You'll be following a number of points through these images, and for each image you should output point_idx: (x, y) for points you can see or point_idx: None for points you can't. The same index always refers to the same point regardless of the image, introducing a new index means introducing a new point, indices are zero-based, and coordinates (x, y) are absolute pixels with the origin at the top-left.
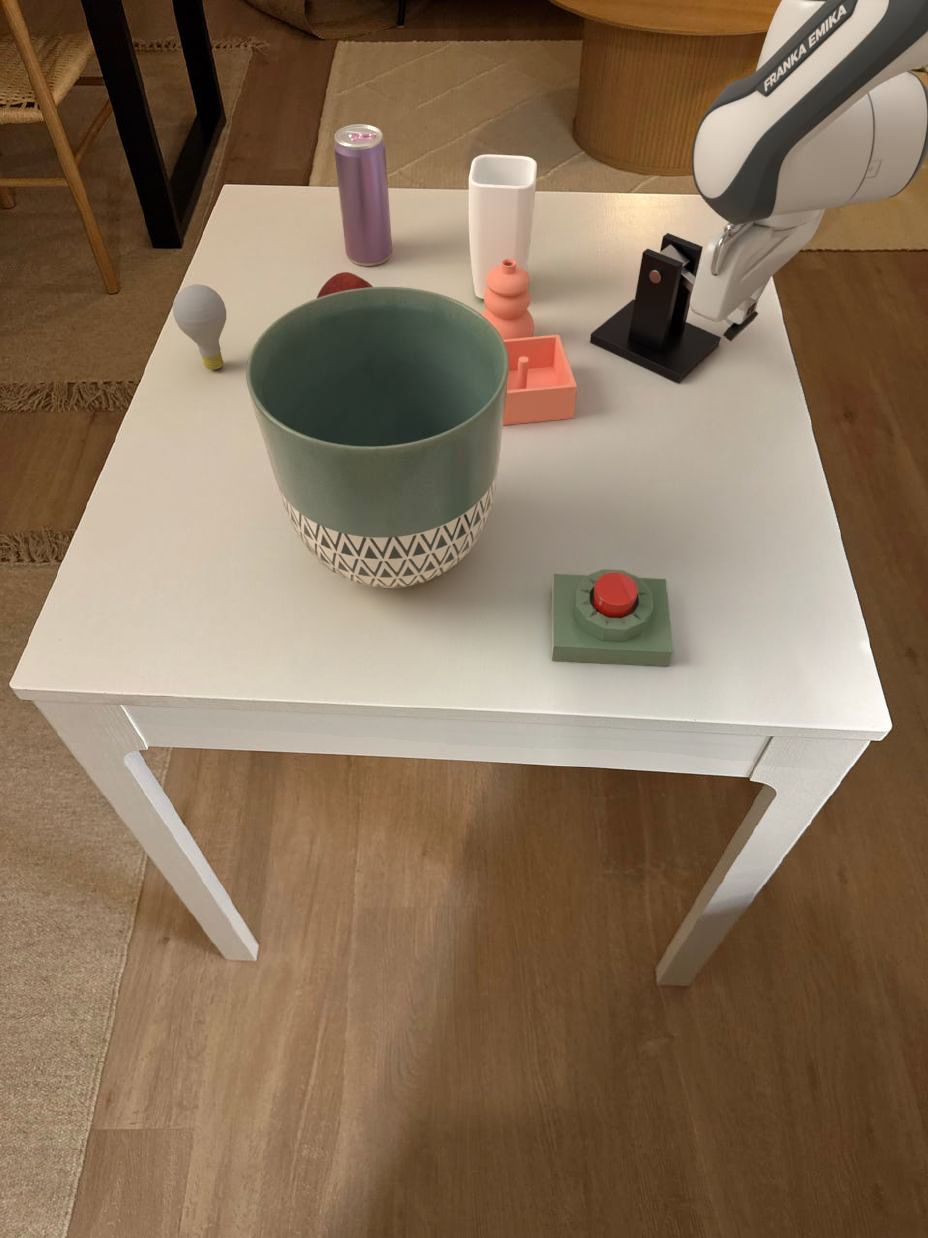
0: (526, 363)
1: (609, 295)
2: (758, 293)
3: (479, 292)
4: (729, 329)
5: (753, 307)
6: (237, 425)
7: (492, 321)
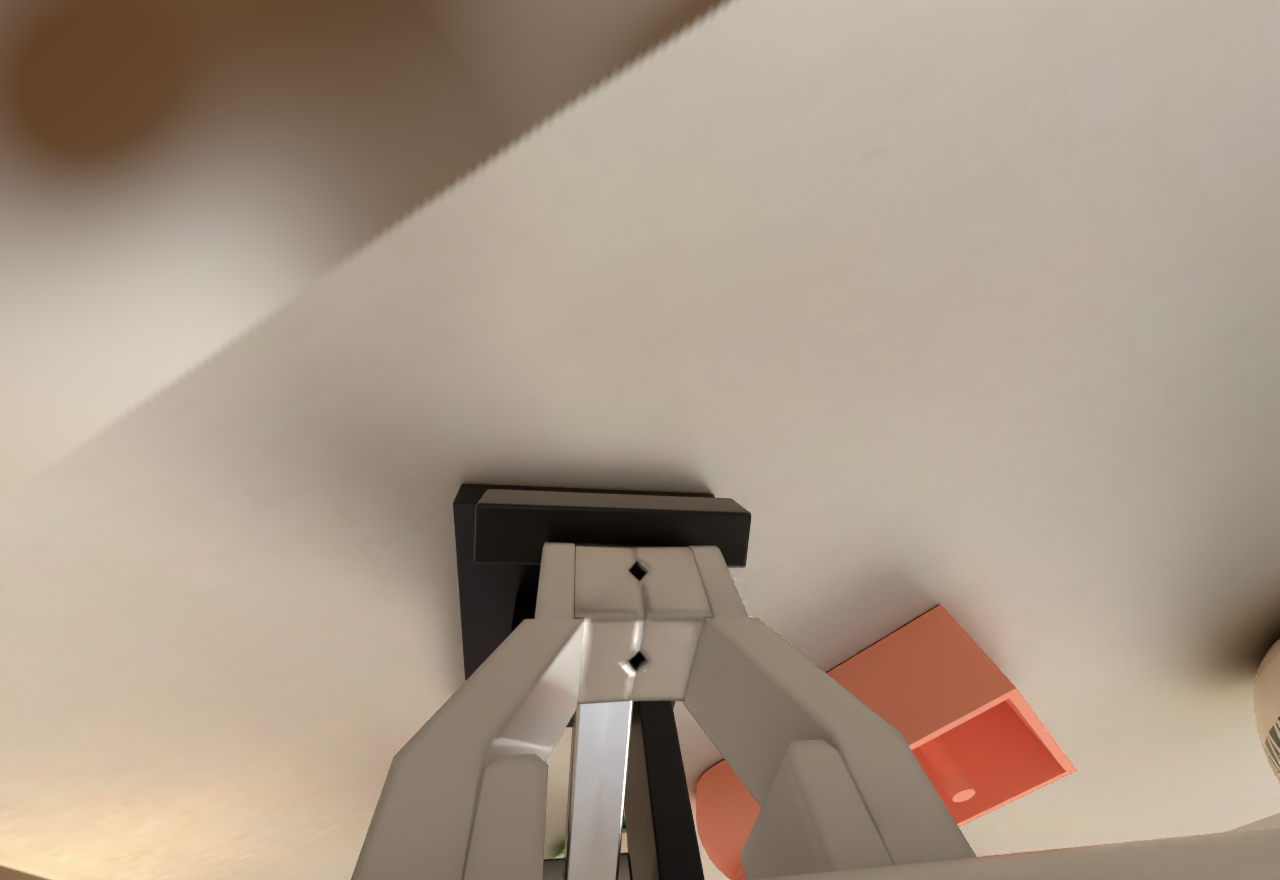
0: (969, 784)
1: None
2: (558, 667)
3: None
4: (745, 557)
5: (598, 579)
6: (1057, 845)
7: None
